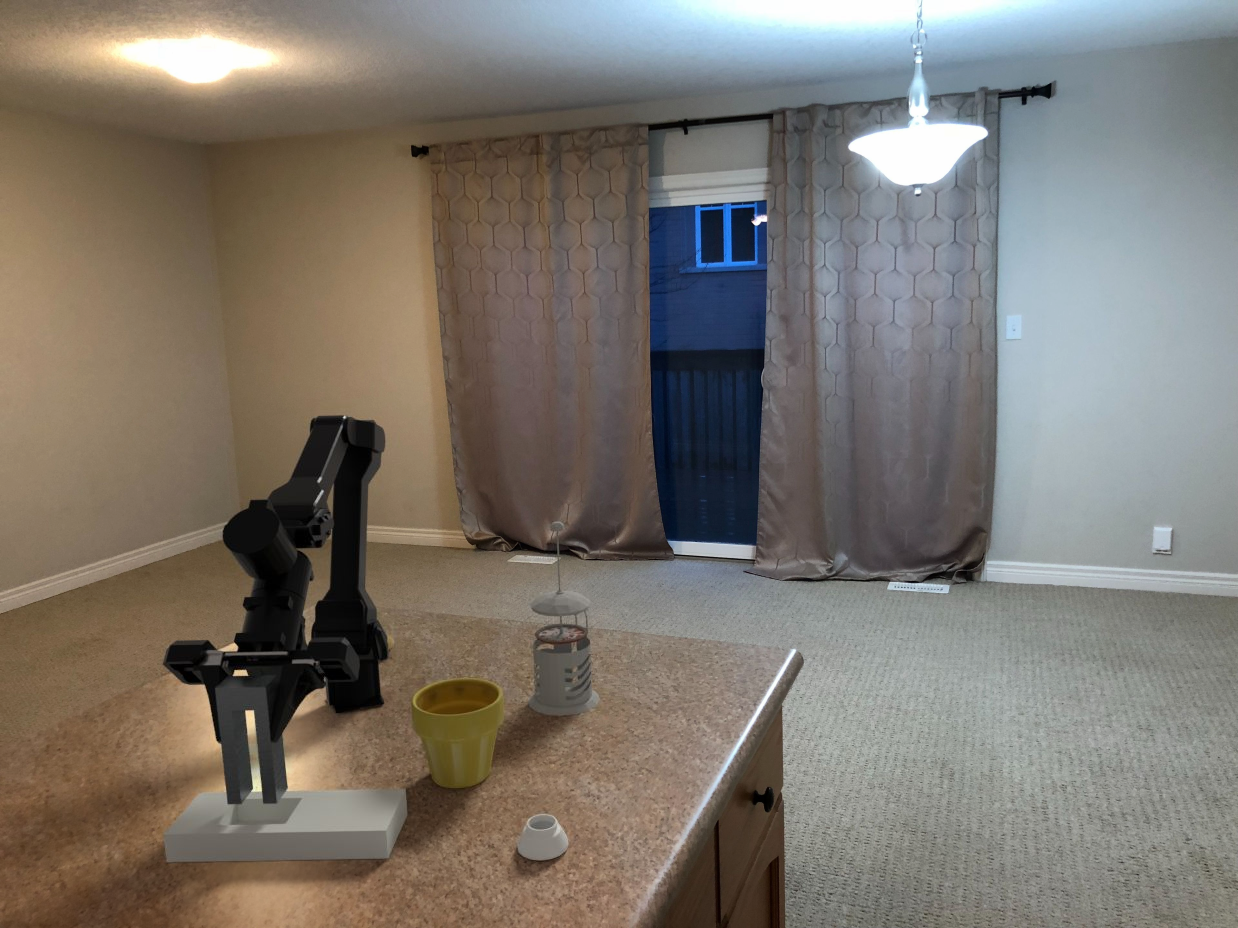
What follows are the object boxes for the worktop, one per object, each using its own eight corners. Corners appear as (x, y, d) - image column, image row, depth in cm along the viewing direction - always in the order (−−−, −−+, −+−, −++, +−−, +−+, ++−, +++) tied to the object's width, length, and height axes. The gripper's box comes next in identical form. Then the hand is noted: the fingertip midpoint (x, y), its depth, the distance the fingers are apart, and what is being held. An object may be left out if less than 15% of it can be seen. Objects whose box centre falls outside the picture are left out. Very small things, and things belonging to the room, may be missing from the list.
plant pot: (509, 792, 105) (504, 709, 103) (414, 802, 103) (408, 718, 101) (504, 749, 115) (500, 673, 113) (418, 758, 113) (412, 681, 112)
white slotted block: (202, 818, 101) (200, 792, 100) (407, 814, 101) (405, 788, 100) (166, 862, 93) (163, 834, 93) (388, 858, 93) (386, 830, 92)
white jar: (520, 867, 91) (571, 859, 92) (519, 839, 90) (570, 831, 92) (515, 839, 96) (564, 832, 97) (514, 812, 95) (562, 805, 96)
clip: (239, 788, 98) (227, 675, 95) (287, 788, 97) (276, 674, 95) (227, 804, 95) (215, 687, 92) (277, 803, 95) (265, 687, 92)
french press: (515, 709, 126) (506, 527, 122) (553, 677, 137) (546, 508, 132) (582, 719, 122) (575, 532, 118) (615, 685, 133) (610, 512, 129)
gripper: (380, 630, 109) (360, 765, 100) (220, 633, 109) (186, 768, 100) (355, 585, 100) (331, 729, 91) (180, 588, 100) (139, 733, 91)
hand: (246, 741), depth 94 cm, fingers closed on clip, 5 cm apart
